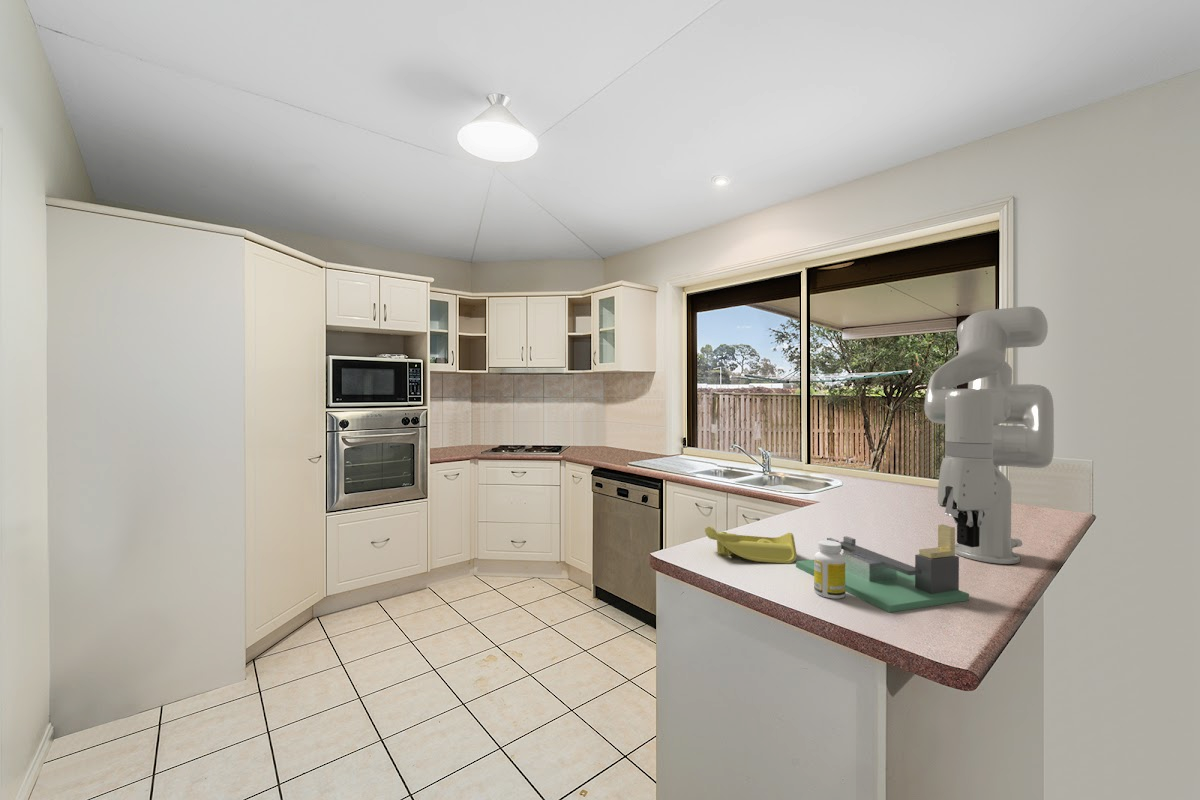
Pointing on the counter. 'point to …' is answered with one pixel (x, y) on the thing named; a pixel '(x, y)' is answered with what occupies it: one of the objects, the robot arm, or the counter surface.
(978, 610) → the counter surface
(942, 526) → the bracket
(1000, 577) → the counter surface
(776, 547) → the plastic component
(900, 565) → the dark grey flat bar
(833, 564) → the supplement bottle
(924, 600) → the board
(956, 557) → the block
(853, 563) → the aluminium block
